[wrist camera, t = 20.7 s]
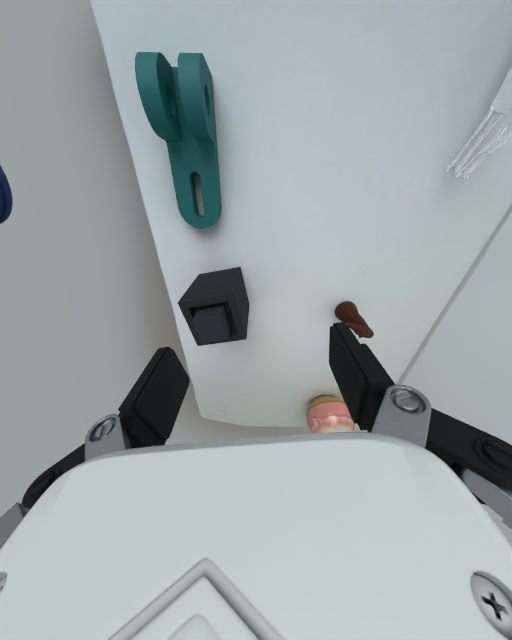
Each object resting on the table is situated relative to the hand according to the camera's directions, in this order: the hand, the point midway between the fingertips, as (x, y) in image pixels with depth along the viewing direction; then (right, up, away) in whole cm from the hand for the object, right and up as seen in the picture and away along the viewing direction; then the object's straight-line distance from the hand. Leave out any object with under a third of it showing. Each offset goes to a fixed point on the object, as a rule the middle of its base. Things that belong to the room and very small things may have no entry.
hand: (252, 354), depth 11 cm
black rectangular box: (-7, +9, +31) cm, 33 cm away
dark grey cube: (-7, +2, +22) cm, 23 cm away
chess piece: (+21, +4, +33) cm, 40 cm away
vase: (+23, -25, +52) cm, 62 cm away
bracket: (-9, +27, +19) cm, 34 cm away
